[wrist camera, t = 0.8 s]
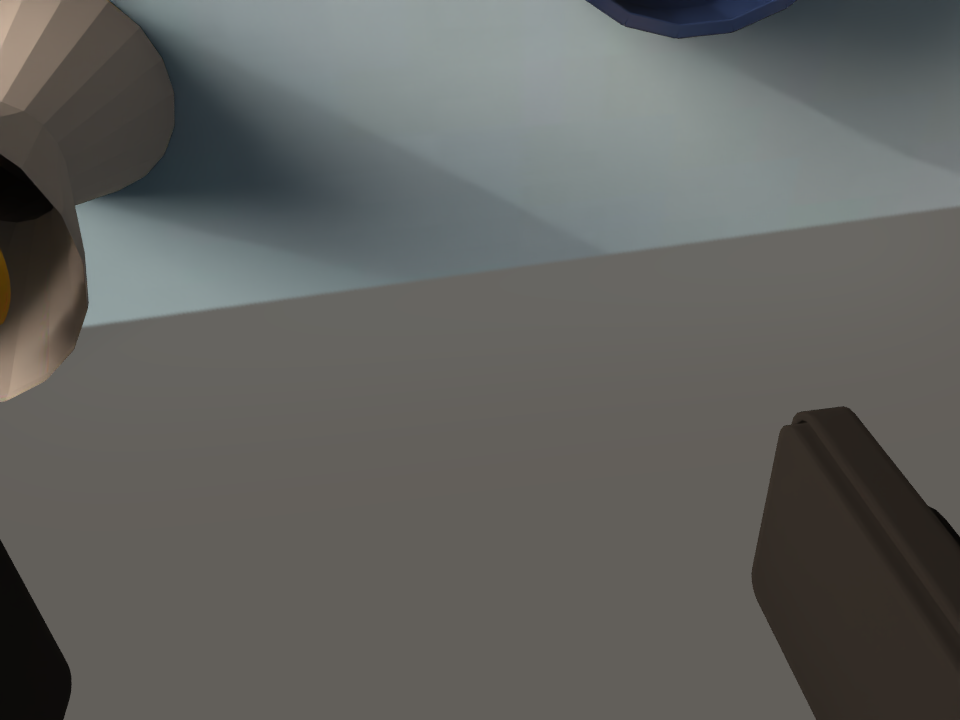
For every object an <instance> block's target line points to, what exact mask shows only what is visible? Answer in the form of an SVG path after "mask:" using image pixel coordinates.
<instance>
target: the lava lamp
mask: <svg viewBox="0 0 960 720" xmlns="http://www.w3.org/2000/svg"><path fill="white" fill-rule="evenodd" d="M174 126H175V120H174V91H173V88H172V85H171V82H170V79H169V76H168V74H167V71H166V68H165V65H164V62H163V59H162V58H161V56H160V55H159V53H158V52H157V50H156V49H155V48H154V46H153V45H152V43H151V42H150V40H149V39H148V37H147V36H146V35H145V33H144V32H143V30H142V29H141V27H140V26H138V25H137V24H136V23H135V22H134V21H132V20H131V19H130V18H129V17H128V16H126V15H125V14H124V13H123V12H122V11H120V10H119V9H118V8H117V7H116V6H115V5H113V4H112V3H111V2H110V1H108V0H0V402H4V401H7V400H9V399H11V398H13V397H15V396H17V395H19V394H21V393H23V392H24V391H27V390H29V389H30V388H32V387H34V386H36V385H38V384H40V383H42V382H44V381H46V380H47V379H48V378H49V377H50V376H51V374H52V373H53V372H54V371H55V370H56V369H57V368H58V367H59V365H60V364H61V363H62V362H63V361H64V360H65V359H66V358H67V357H68V356H69V355H70V354H71V352H72V351H73V350H74V348H75V345H76V342H77V339H78V336H79V333H80V330H81V327H82V325H83V322H84V319H85V316H86V313H87V309H88V304H89V302H88V289H87V276H86V264H85V252H84V248H83V243H82V238H81V233H80V228H79V223H78V218H77V214H76V209H75V205H78V204H81V203H84V202H87V201H90V200H92V199H95V198H98V197H101V196H104V195H107V194H110V193H113V192H116V191H118V190H121V189H122V188H124V187H126V186H128V185H130V184H132V183H133V182H135V181H137V180H139V179H141V178H143V177H144V176H146V175H147V174H148V172H149V171H150V170H151V169H152V168H153V167H154V165H155V164H156V163H157V162H158V161H159V160H160V159H161V157H162V156H163V155H164V154H165V151H166V148H167V146H168V143H169V140H170V137H171V134H172V131H173V128H174Z"/></svg>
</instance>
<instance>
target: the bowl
mask: <svg viewBox="0 0 960 720" xmlns="http://www.w3.org/2000/svg"><path fill="white" fill-rule="evenodd" d="M586 1H587V2H589V3H590V4H592V5H593V6H595V7H596V8H597V9H599V10H600V11H602V12H603V13H605V14H606V15H608V16H609V17H611V18H612V19H614V20H615V21H617V22H618V23H620V24H621V25H624V26H625V27H629V28H633V29H637V30H641V31H646V32H650V33H654V34H658V35H662V36H667V37H671V38H678V39H680V38H689V37H698V36H707V35H716V34H726V33H732V32H735V31H737V30H740V29H742V28H744V27H746V26H749V25H751V24H753V23H755V22H758V21H760V20H762V19H764V18H767V17H769V16H771V15H773V14H776V13H778V12H780V11H782V10H785V9H786V8H788V7H789V6H791V5H792V4H793V3H794V2H796V1H797V0H586Z"/></svg>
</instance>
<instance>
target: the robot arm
mask: <svg viewBox="0 0 960 720" xmlns="http://www.w3.org/2000/svg"><path fill="white" fill-rule="evenodd" d="M752 584H753V589H754V593H755V596H756V599H757V601H758V603H759V605H760V607H761V609H762V611H763V613H764V615H765V617H766V619H767V621H768V623H769V625H770V627H771V629H772V631H773V633H774V635H775V637H776V639H777V641H778V643H779V645H780V647H781V649H782V651H783V653H784V655H785V658H786V660H787V662H788V663H789V666H790V668H791V670H792V672H793V674H794V675H795V678H796V680H797V682H798V684H799V686H800V688H801V690H802V692H803V694H804V696H805V698H806V700H807V702H808V704H809V706H810V708H811V710H812V712H813V714H814V716H815V718H816V720H960V537H959V535H958V534H957V533H956V532H955V530H954V529H953V528H952V527H951V525H950V524H949V523H948V522H947V520H946V519H945V518H944V517H943V516H942V515H940V513H939V512H937V510H935V509H933V508H931V507H929V506H928V505H927V504H926V503H925V502H924V500H923V499H922V498H921V497H920V495H919V494H918V493H917V491H916V490H915V489H914V488H913V486H912V485H911V484H910V483H909V481H908V480H907V479H906V478H905V476H904V475H903V474H902V473H901V471H900V470H899V469H898V468H897V466H896V465H895V464H894V462H893V461H892V460H891V459H890V457H889V456H888V455H887V454H886V452H885V451H884V450H883V449H882V447H881V446H880V445H879V444H878V442H877V441H876V440H875V438H874V437H873V436H872V435H871V433H870V432H869V431H868V430H867V428H866V427H865V426H864V425H863V423H862V422H861V421H860V420H859V418H858V417H857V416H856V414H855V413H853V412H852V411H851V410H850V409H849V408H847V407H844V406H843V407H835V408H827V409H819V410H811V411H803V412H799V413H797V414H796V415H795V416H794V418H793V421H792V424H791V425H786V426H783V428H782V429H781V431H780V434H779V438H778V443H777V448H776V453H775V458H774V463H773V468H772V473H771V478H770V483H769V488H768V493H767V498H766V503H765V508H764V513H763V518H762V523H761V528H760V533H759V538H758V543H757V548H756V553H755V557H754V562H753V567H752ZM70 694H71V673H70V669H69V666H68V664H67V662H66V660H65V658H64V656H63V654H62V653H61V651H60V649H59V647H58V646H57V643H56V641H55V640H54V638H53V636H52V634H51V632H50V631H49V629H48V627H47V625H46V623H45V621H44V619H43V618H42V616H41V614H40V612H39V610H38V609H37V606H36V605H35V603H34V601H33V599H32V597H31V595H30V594H29V592H28V590H27V588H26V586H25V584H24V583H23V581H22V579H21V577H20V575H19V573H18V571H17V570H16V568H15V566H14V564H13V562H12V560H11V558H10V557H9V555H8V553H7V551H6V549H5V547H4V546H3V544H2V542H1V540H0V720H63V719H64V715H65V712H66V709H67V706H68V702H69V698H70Z"/></svg>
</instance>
